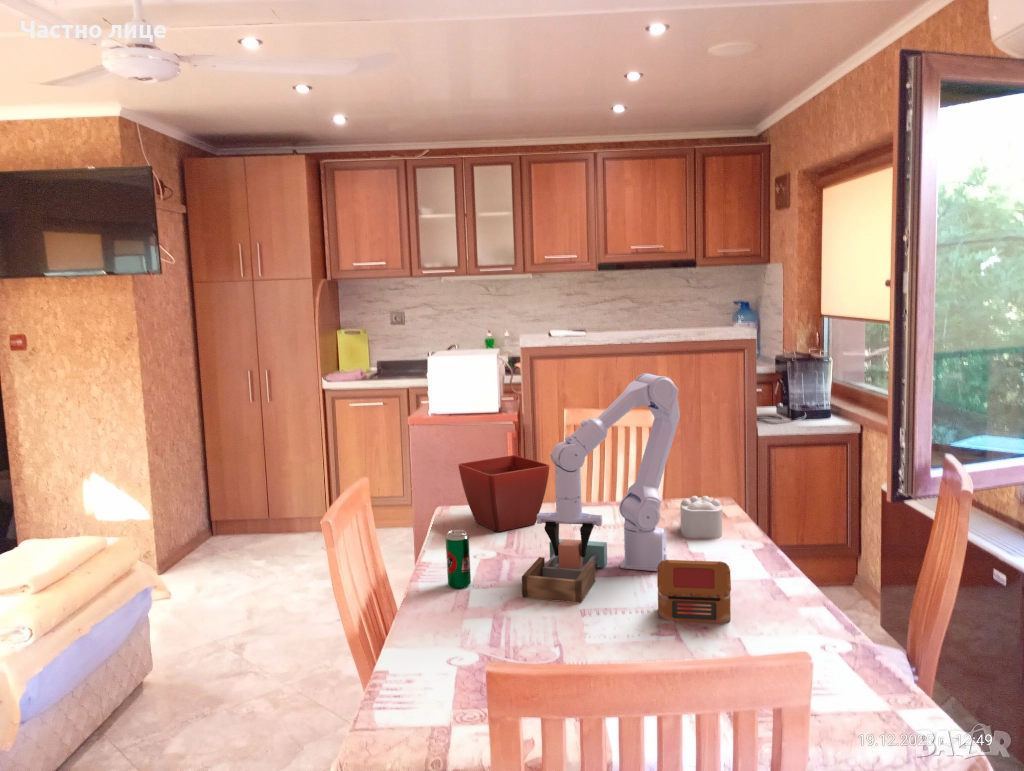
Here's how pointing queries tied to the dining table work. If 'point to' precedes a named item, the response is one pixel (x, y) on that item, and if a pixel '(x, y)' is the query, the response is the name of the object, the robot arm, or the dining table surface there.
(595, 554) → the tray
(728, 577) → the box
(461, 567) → the soda can
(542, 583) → the caddy
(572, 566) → the brick-red block
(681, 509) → the lumpy-topped squat cylinder
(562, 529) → the dining table surface
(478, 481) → the plant pot
